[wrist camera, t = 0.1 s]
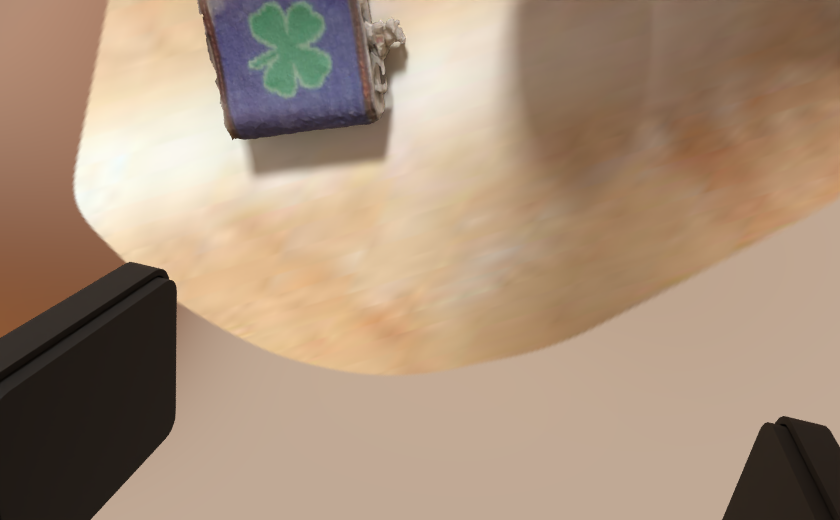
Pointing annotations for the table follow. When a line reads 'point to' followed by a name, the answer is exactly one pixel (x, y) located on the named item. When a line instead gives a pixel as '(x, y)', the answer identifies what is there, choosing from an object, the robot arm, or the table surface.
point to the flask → (297, 63)
